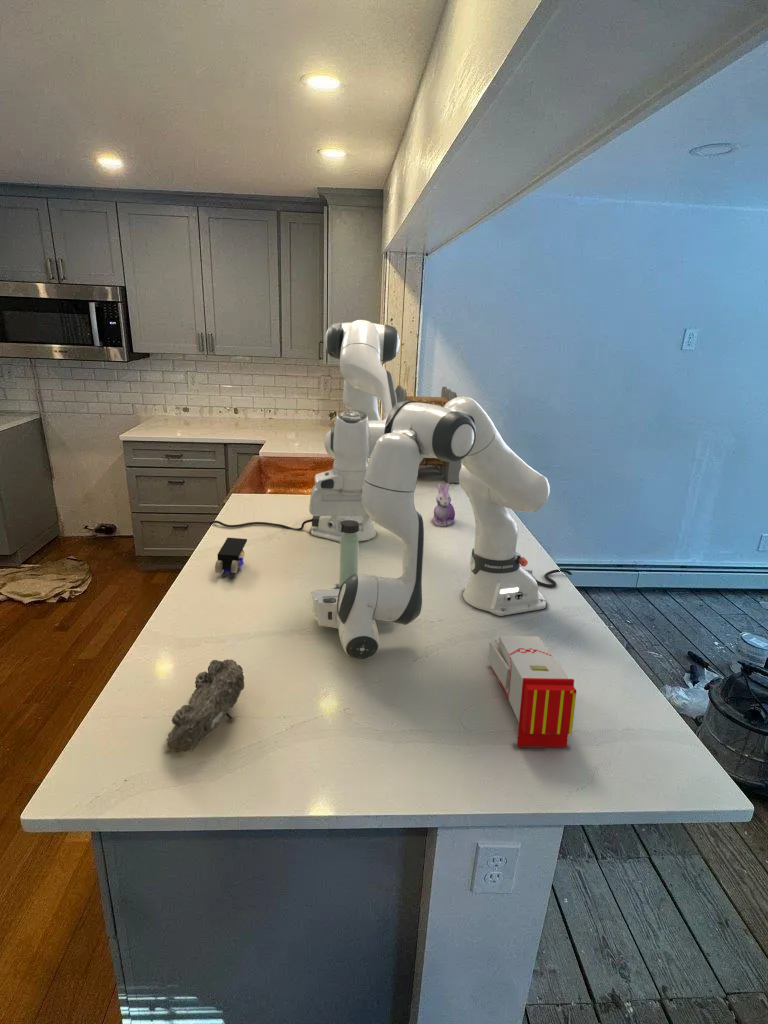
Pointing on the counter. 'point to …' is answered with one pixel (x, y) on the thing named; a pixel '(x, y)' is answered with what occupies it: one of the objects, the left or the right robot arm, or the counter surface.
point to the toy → (534, 690)
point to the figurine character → (230, 556)
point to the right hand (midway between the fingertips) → (347, 585)
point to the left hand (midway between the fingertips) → (349, 531)
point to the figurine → (443, 507)
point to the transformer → (444, 467)
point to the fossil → (206, 705)
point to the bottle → (348, 556)
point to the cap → (349, 526)
